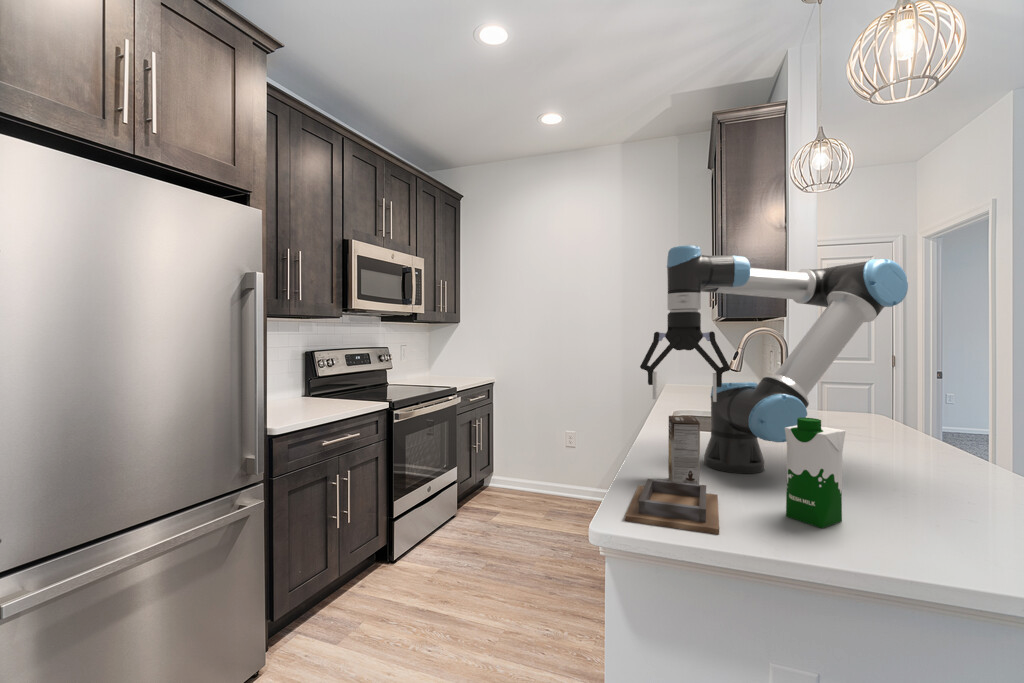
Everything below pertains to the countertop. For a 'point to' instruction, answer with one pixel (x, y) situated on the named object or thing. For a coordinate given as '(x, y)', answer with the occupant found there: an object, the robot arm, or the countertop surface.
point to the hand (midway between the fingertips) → (684, 399)
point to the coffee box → (684, 449)
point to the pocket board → (675, 506)
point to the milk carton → (814, 473)
